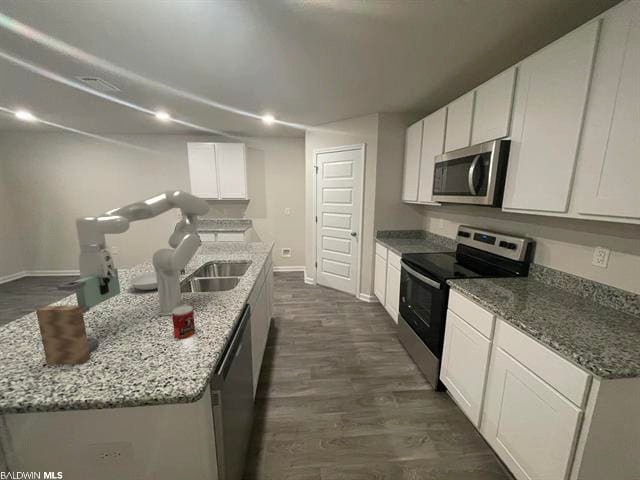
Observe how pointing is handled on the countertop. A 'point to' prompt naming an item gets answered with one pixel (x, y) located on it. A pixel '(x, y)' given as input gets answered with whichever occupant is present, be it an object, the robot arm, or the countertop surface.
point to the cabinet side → (64, 335)
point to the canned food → (183, 322)
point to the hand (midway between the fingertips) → (100, 293)
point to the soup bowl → (144, 281)
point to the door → (91, 290)
